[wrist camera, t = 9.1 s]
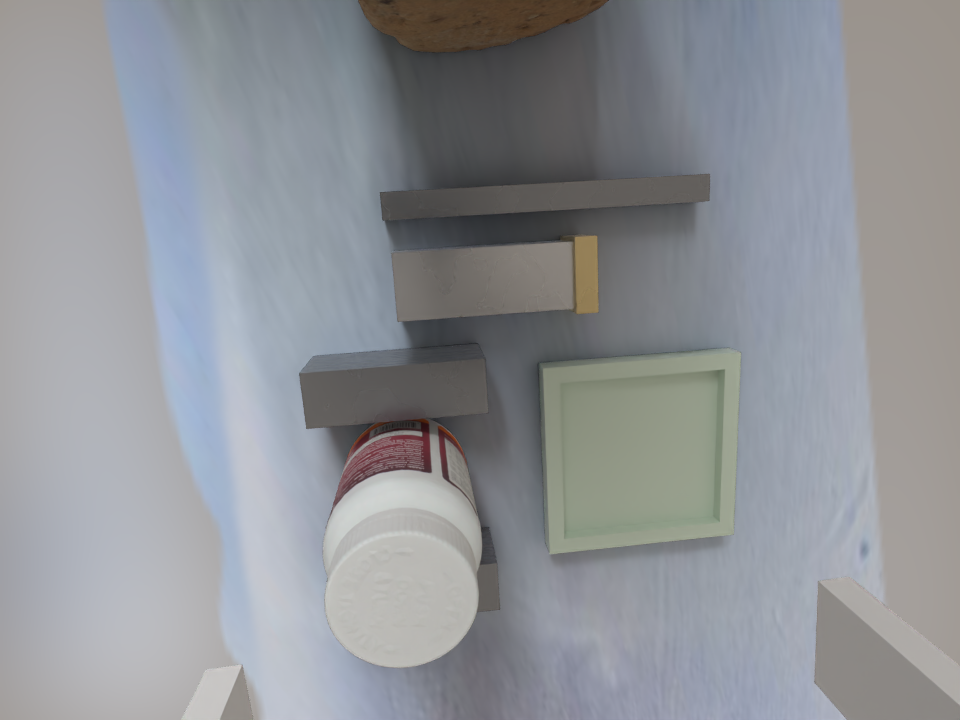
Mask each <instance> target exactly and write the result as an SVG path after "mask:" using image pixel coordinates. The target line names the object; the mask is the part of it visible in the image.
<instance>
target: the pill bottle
mask: <svg viewBox="0 0 960 720" xmlns="http://www.w3.org/2000/svg"><path fill="white" fill-rule="evenodd" d="M481 554H482V534H481V526H480V521H479V518H478V514H477V509H476V505H475V500H474V495H473V490H472V485H471V481H470V476H469V471H468V467H467V462H466V459H465V455H464V453H463V450H462V448H461V446H460V444H459V442H458V441H457V439H456V438H455V437H454V436H453V434H452V433H451V432H450V431H449V430H448V429H446V428H445V427H444V426H442V425H441V424H439V423H437V422H435V421H433V420H431V419H428V418H426V419H414V420H403V421H391V422H380V423H375V424H373V425H372V426H370V427H369V428H368V429H366V430H365V431H364V432H363V433H362V434H361V435H360V436H359V437H358V438H357V440H356V441H355V442H354V444H353V446H352V447H351V449H350V451H349V454H348V456H347V460H346V462H345V465H344V469H343V473H342V476H341V479H340V483H339V486H338V490H337V493H336V496H335V500H334V503H333V507H332V510H331V513H330V517H329V519H328V522H327V526H326V531H325V534H324V541H323V561H324V567H325V571H326V574H327V577H328V580H327V584H326V588H325V599H324V602H325V613H326V617H327V621H328V624H329V626H330V629H331V630H332V632H333V634H334V636H335V637H336V638H337V640H338V641H339V642H340V643H341V644H342V645H343V647H344V648H346V649H347V650H348V651H349V652H351V653H352V654H353V655H355V656H356V657H358V658H360V659H362V660H364V661H366V662H369V663H371V664H375V665H378V666H382V667H391V668H407V667H414V666H418V665H422V664H425V663H428V662H431V661H433V660H435V659H438V658H440V657H442V656H443V655H445V654H446V653H448V652H449V651H450V650H452V649H453V648H454V647H455V646H456V645H457V644H458V643H459V642H460V641H461V640H462V639H463V638H464V637H465V635H466V634H467V632H468V631H469V629H470V627H471V626H472V624H473V622H474V619H475V616H476V613H477V608H478V601H479V589H478V580H477V571H478V568H479V565H480V561H481Z"/></svg>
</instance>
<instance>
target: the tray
mask: <svg viewBox="0 0 960 720" xmlns="http://www.w3.org/2000/svg"><path fill="white" fill-rule="evenodd" d="M538 366H539V392H540V419H541V445H542V472H543V498H544V524H545V543H546V546H547V548H548V551H549V553H550V554H558V553H568V552H577V551H586V550H595V549H605V548H614V547H623V546H633V545H642V544H651V543H660V542H670V541H679V540H688V539H698V538H707V537H716V536H726V535H734V514H735V489H736V464H737V440H738V415H739V390H740V366H741V352H739V351H736V350H734V349H731V348H718V349H706V350H693V351H681V352H669V353H656V354H644V355H632V356H619V357H607V358H594V359H582V360H570V361H557V362H545V363H538Z"/></svg>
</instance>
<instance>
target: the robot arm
mask: <svg viewBox="0 0 960 720" xmlns="http://www.w3.org/2000/svg"><path fill="white" fill-rule="evenodd" d="M814 682H815V684H816V685H817V686H818V687H819V688H820V689H821V690H822V692H823V693H824V694H825V695H826V696H827V697H828V698H829V700H830V701H831V702H832V703H833V704H834V705H835V706H836V708H837V709H838V710H839V711H840V712H841V713H842V714H843V716H844V717H845V718H846V719H847V720H960V665H959V664H957V663H956V662H955V661H954V660H952V659H951V658H950V657H949V656H947V655H946V654H945V653H944V652H942V651H941V650H940V649H939V648H937V647H936V646H935V645H934V644H933V643H931V642H930V641H929V640H928V639H926V638H925V637H924V636H923V635H921V634H920V633H919V632H917V631H916V630H915V629H914V628H912V627H911V626H910V625H909V624H908V623H906V622H905V621H904V620H903V619H901V618H900V617H899V616H898V615H896V614H895V613H894V612H893V611H891V610H890V609H889V608H888V607H886V606H885V605H884V604H883V603H881V602H880V601H879V600H878V599H876V598H875V597H874V596H873V595H872V594H870V593H869V592H868V591H867V590H865V589H864V588H863V587H862V586H860V585H859V584H858V583H857V582H855V581H854V580H853V579H852V578H850V577H843V578H836V579H829V580H822V581H818V599H817V626H816V654H815V681H814ZM182 720H253V715H252V710H251V705H250V700H249V695H248V690H247V685H246V680H245V675H244V671H243V666H242V664H241V665H234V666H227V667H220V668H214V669H207V670H205V672H204V675H203V677H202V679H201V681H200V683H199V685H198V687H197V689H196V691H195V693H194V695H193V697H192V699H191V701H190V703H189V705H188V707H187V709H186V711H185V713H184V715H183V717H182Z"/></svg>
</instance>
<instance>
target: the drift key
mask: <svg viewBox="0 0 960 720" xmlns="http://www.w3.org/2000/svg"><path fill="white" fill-rule="evenodd" d="M391 254H392V265H393V276H394V287H395V298H396V309H397V320H398V322H403V321H416V320H430V319H444V318H457V317H471V316H484V315H498V314H511V313H525V312H539V311H552V310H566V309H569V310H570V311H572V312H574V313H576V314H586V313H598V244H597V236H595V235H566V236H560V240H554V241H539V242H523V243H507V244H492V245H476V246H460V247H445V248H429V249H413V250H398V251H393V252H392V253H391Z"/></svg>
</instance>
